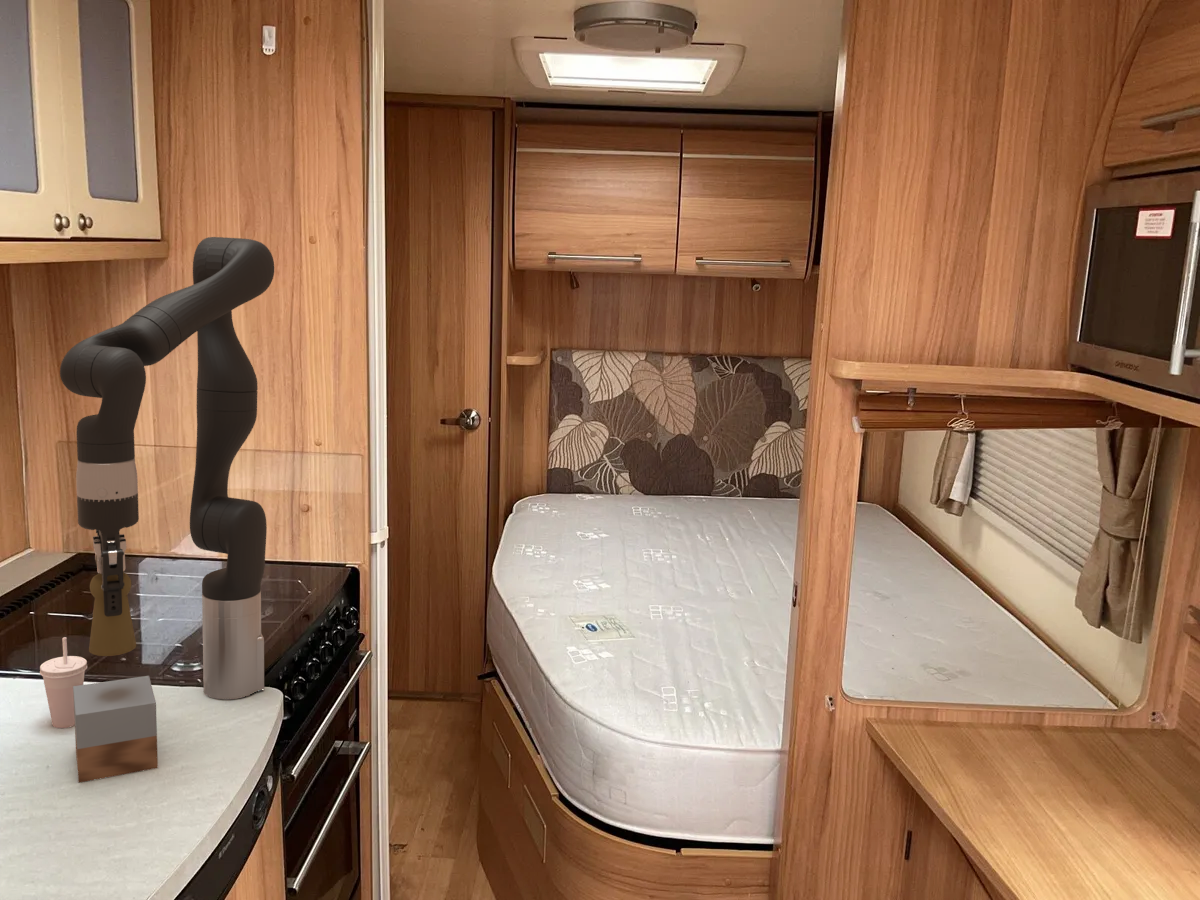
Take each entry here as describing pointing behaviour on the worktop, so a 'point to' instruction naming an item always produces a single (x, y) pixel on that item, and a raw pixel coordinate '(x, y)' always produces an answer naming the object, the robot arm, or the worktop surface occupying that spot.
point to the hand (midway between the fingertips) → (111, 607)
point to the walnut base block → (116, 758)
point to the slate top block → (114, 711)
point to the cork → (111, 622)
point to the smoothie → (62, 685)
